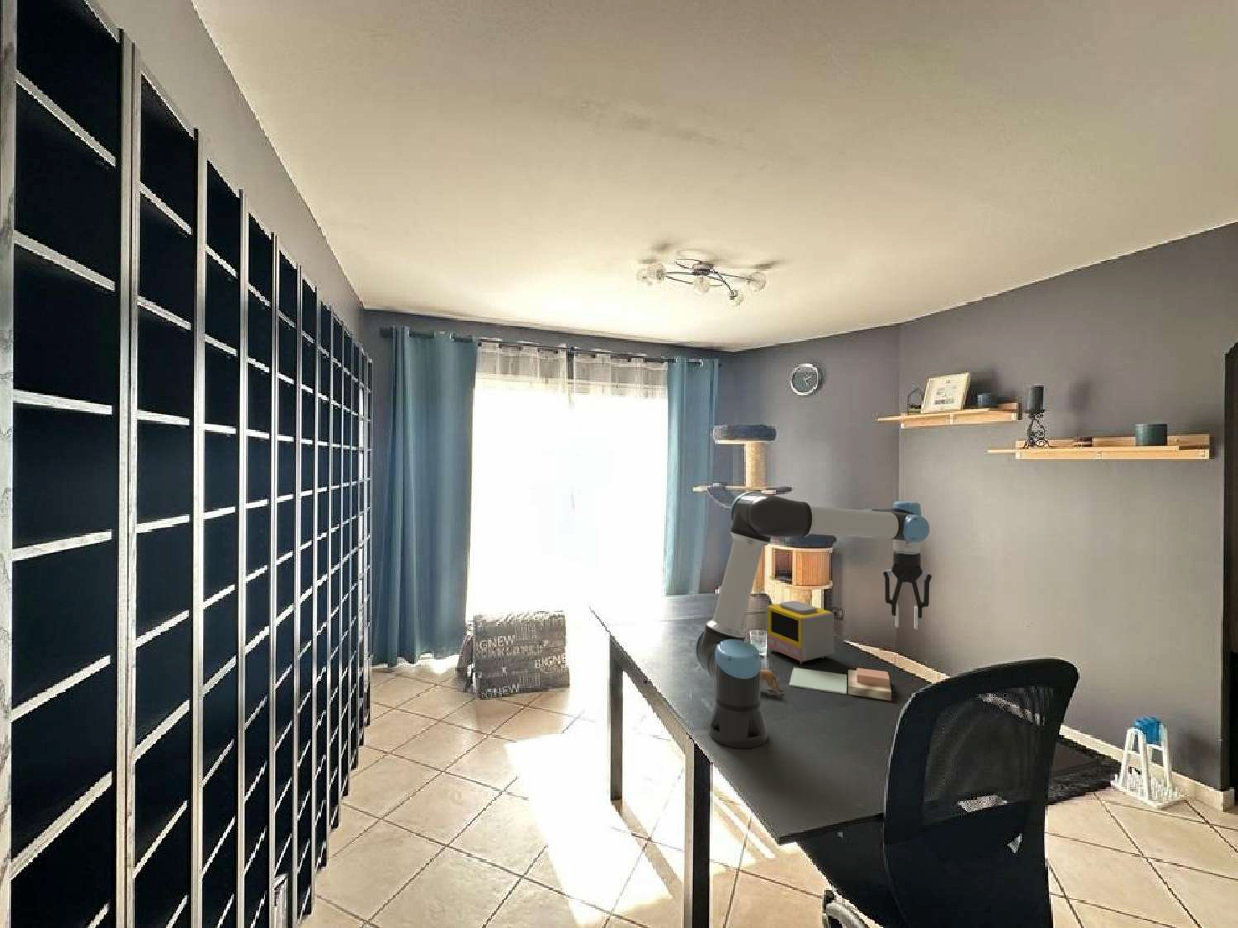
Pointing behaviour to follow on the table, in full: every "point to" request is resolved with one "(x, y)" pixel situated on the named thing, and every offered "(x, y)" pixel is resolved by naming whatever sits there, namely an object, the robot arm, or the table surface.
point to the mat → (819, 680)
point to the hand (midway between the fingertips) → (906, 626)
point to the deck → (867, 688)
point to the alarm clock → (800, 630)
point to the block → (872, 677)
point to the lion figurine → (769, 680)
